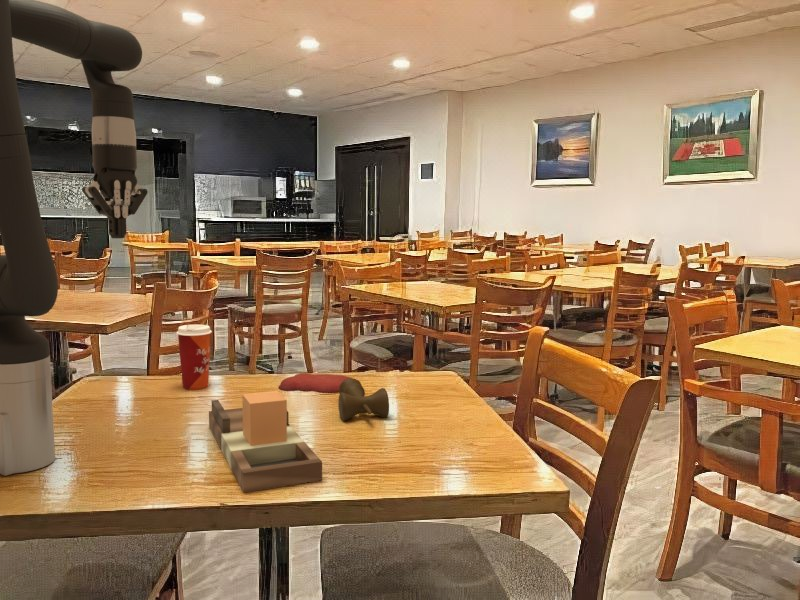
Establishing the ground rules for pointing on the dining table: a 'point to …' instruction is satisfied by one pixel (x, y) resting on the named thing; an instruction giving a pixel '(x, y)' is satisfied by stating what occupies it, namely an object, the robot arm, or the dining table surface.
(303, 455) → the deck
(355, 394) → the kendama
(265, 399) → the block
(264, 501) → the dining table surface
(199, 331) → the paper cup
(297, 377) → the patty
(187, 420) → the dining table surface
